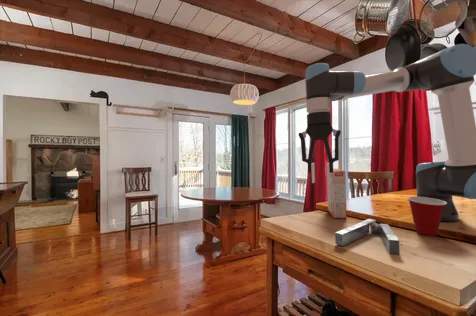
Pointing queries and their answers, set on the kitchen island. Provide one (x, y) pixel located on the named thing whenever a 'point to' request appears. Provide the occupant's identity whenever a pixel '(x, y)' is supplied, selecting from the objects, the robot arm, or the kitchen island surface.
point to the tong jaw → (353, 232)
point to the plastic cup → (426, 214)
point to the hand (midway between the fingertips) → (321, 182)
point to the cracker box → (337, 194)
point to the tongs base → (387, 237)
